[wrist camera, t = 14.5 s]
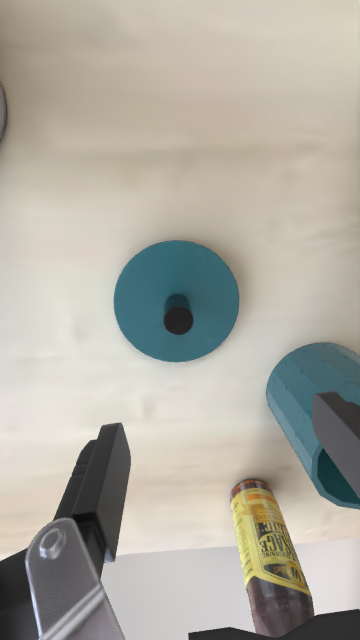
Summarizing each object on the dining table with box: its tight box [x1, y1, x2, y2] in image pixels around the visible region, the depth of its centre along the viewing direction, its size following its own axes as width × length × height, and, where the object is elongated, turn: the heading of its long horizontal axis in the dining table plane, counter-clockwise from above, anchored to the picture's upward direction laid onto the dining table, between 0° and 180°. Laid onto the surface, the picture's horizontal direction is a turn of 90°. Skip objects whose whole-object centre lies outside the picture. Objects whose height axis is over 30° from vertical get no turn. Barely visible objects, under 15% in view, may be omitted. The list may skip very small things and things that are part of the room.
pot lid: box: [114, 240, 239, 362], centre depth 24 cm, size 13×13×6 cm
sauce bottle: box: [230, 480, 314, 638], centre depth 27 cm, size 6×6×20 cm
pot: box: [266, 343, 360, 509], centre depth 26 cm, size 12×12×10 cm
